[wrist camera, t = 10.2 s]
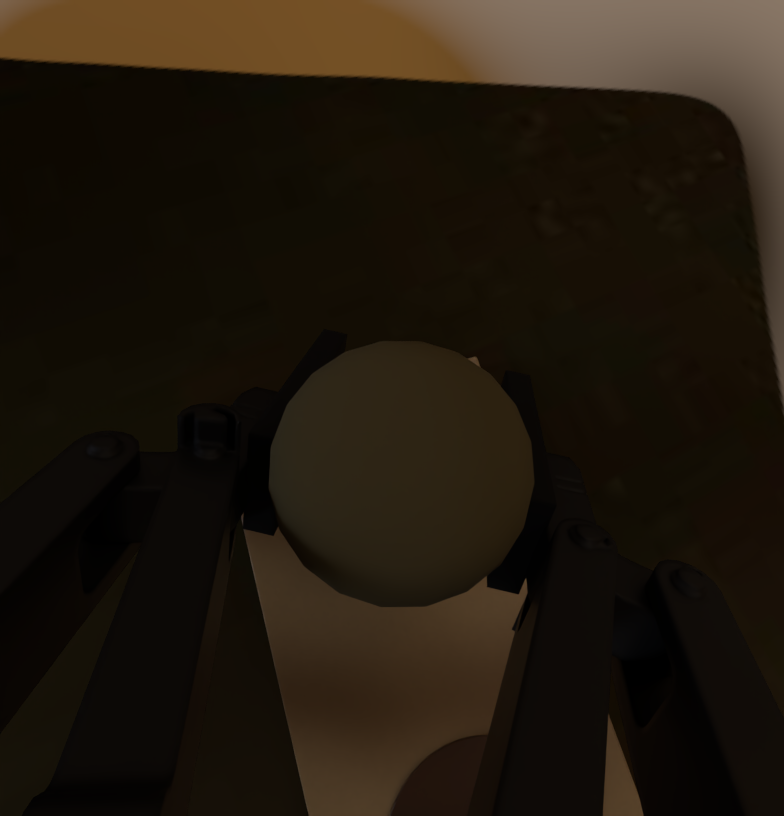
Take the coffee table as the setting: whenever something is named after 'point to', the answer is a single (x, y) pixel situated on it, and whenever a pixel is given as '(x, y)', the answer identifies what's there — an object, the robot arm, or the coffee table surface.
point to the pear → (401, 474)
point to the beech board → (392, 691)
